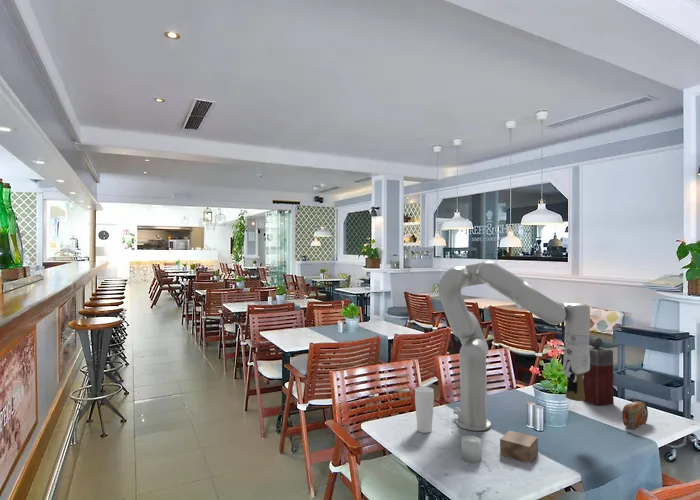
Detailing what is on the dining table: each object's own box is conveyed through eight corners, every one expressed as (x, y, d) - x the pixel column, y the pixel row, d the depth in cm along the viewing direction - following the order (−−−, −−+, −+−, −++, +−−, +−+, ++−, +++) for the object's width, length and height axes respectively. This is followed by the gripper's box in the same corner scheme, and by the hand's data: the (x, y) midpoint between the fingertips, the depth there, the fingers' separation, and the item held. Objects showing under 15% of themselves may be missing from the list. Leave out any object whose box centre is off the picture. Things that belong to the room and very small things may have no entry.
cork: (587, 401, 146) (588, 369, 146) (568, 400, 147) (569, 367, 147) (581, 396, 152) (582, 365, 152) (563, 394, 153) (564, 363, 153)
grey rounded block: (457, 457, 135) (457, 438, 136) (469, 452, 139) (469, 434, 139) (473, 465, 131) (473, 445, 131) (485, 459, 134) (485, 440, 134)
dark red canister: (592, 396, 196) (592, 334, 197) (613, 404, 186) (613, 339, 186) (576, 397, 194) (576, 335, 194) (597, 406, 183) (596, 340, 184)
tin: (629, 431, 157) (629, 407, 157) (620, 428, 159) (620, 405, 159) (648, 422, 165) (648, 400, 165) (639, 420, 167) (639, 398, 168)
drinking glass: (425, 436, 152) (425, 393, 152) (411, 430, 157) (411, 388, 157) (437, 431, 156) (437, 389, 156) (423, 425, 161) (423, 385, 162)
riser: (500, 454, 137) (500, 439, 137) (509, 445, 144) (509, 430, 144) (529, 463, 132) (529, 446, 132) (537, 453, 139) (537, 437, 139)
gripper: (575, 343, 141) (574, 399, 141) (599, 339, 151) (597, 391, 151) (553, 339, 147) (551, 392, 147) (577, 335, 157) (575, 385, 157)
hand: (574, 391), depth 149 cm, fingers closed on cork, 3 cm apart
